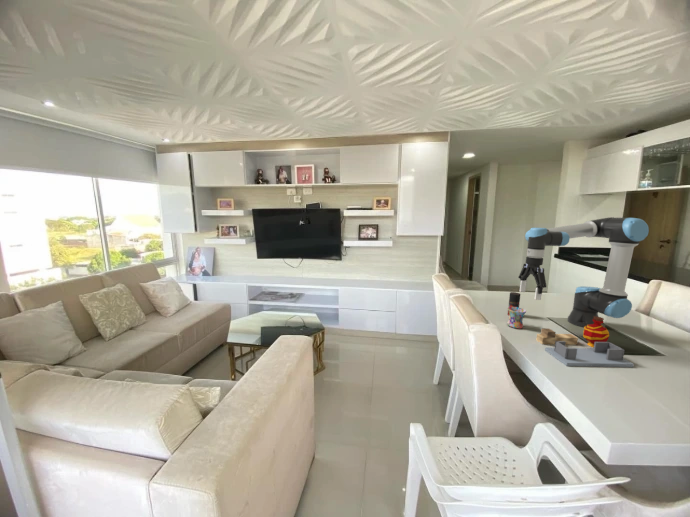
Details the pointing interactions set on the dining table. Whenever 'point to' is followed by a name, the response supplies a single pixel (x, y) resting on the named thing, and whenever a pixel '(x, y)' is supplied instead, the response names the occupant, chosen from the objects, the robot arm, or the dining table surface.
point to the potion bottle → (595, 332)
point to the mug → (516, 317)
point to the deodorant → (514, 300)
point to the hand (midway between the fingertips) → (529, 295)
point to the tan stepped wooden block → (555, 337)
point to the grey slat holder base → (590, 355)
